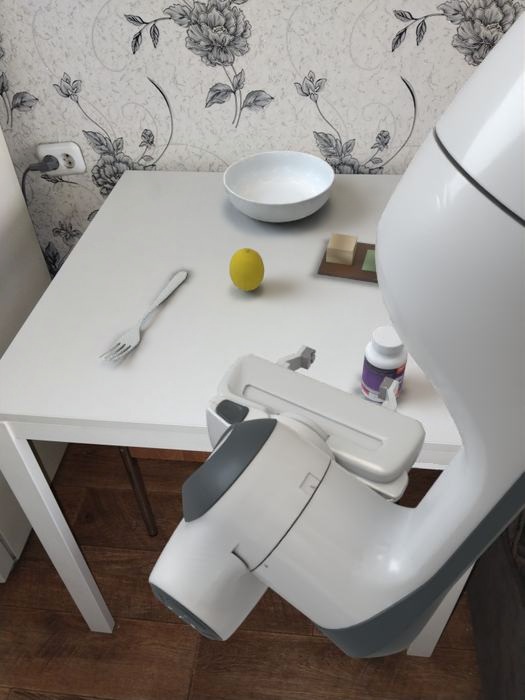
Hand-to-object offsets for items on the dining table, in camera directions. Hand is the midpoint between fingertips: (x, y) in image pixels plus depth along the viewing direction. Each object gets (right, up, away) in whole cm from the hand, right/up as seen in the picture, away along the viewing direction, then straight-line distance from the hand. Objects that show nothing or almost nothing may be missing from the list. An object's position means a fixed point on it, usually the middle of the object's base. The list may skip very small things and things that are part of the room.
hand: (349, 366), depth 62 cm
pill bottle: (+7, -4, +18) cm, 20 cm away
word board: (+11, +16, +38) cm, 43 cm away
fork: (-27, +7, +31) cm, 41 cm away
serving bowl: (-6, +29, +53) cm, 60 cm away
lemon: (-11, +11, +34) cm, 38 cm away
